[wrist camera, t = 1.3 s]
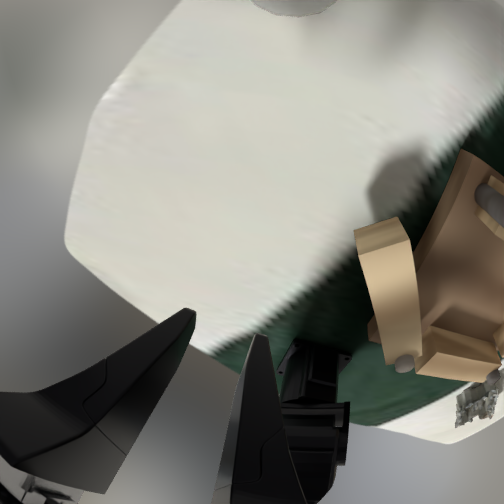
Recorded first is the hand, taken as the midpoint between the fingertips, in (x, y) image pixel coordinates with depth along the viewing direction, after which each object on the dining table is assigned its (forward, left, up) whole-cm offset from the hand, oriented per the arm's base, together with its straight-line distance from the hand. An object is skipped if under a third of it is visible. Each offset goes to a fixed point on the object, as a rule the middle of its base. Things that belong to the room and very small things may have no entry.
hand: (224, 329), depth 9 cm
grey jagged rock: (-18, -38, -12) cm, 44 cm away
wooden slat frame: (0, -19, -12) cm, 23 cm away
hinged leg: (-3, -10, -10) cm, 14 cm away
